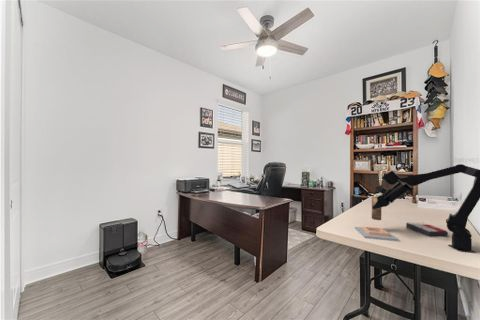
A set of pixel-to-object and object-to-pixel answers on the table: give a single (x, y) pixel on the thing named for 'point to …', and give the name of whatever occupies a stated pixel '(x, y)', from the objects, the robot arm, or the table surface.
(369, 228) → the plinth
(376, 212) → the column
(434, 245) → the table surface
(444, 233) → the grey and red box
